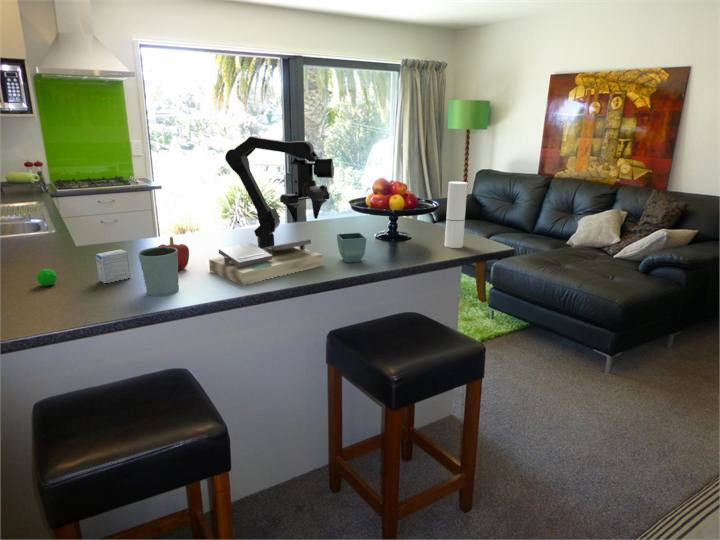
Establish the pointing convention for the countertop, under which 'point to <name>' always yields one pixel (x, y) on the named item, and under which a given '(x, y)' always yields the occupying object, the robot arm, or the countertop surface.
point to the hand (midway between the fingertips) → (305, 220)
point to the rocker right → (288, 245)
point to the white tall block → (455, 214)
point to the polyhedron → (47, 277)
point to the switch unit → (268, 265)
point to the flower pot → (351, 246)
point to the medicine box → (113, 266)
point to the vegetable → (180, 253)
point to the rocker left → (245, 254)
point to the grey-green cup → (160, 270)
